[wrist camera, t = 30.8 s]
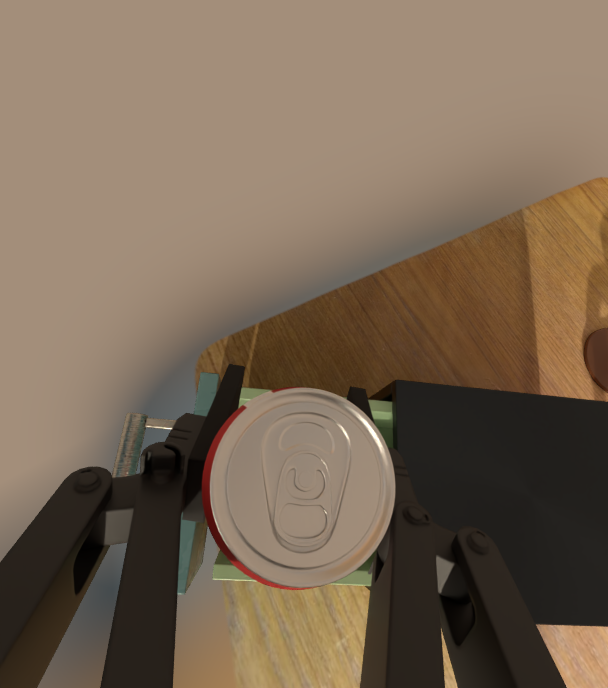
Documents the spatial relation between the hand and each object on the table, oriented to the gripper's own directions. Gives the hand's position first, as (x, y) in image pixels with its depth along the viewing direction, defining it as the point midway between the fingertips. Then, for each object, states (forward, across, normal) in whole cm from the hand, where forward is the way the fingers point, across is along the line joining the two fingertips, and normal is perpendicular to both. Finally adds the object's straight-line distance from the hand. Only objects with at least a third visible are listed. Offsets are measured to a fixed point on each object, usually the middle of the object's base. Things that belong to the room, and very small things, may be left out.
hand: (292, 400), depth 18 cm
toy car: (+20, +35, -1) cm, 40 cm away
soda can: (0, 0, -5) cm, 5 cm away
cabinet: (+9, +16, -12) cm, 22 cm away
